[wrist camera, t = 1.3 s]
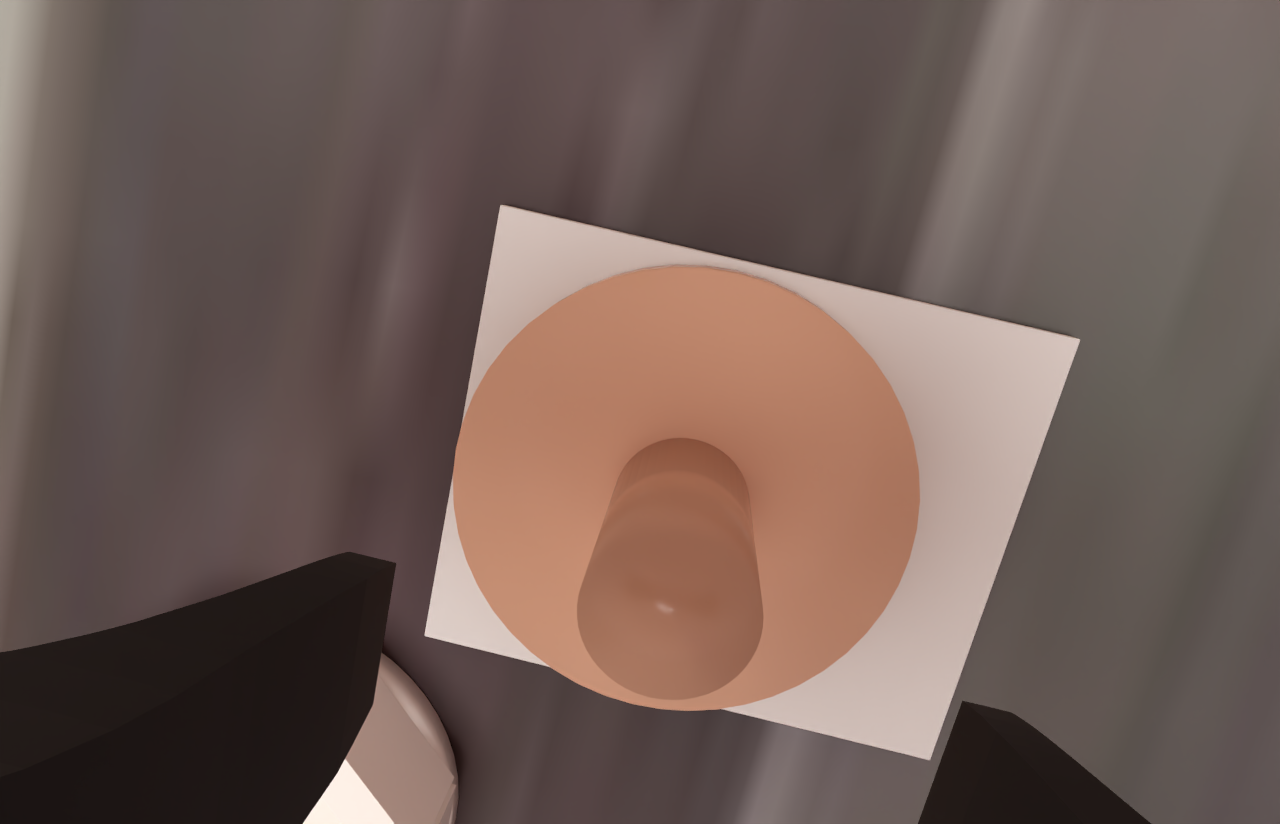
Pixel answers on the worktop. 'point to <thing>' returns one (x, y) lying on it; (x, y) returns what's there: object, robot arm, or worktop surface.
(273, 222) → the worktop surface
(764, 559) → the lid
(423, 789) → the bowl
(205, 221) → the worktop surface
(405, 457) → the worktop surface
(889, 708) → the mat
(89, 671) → the robot arm
